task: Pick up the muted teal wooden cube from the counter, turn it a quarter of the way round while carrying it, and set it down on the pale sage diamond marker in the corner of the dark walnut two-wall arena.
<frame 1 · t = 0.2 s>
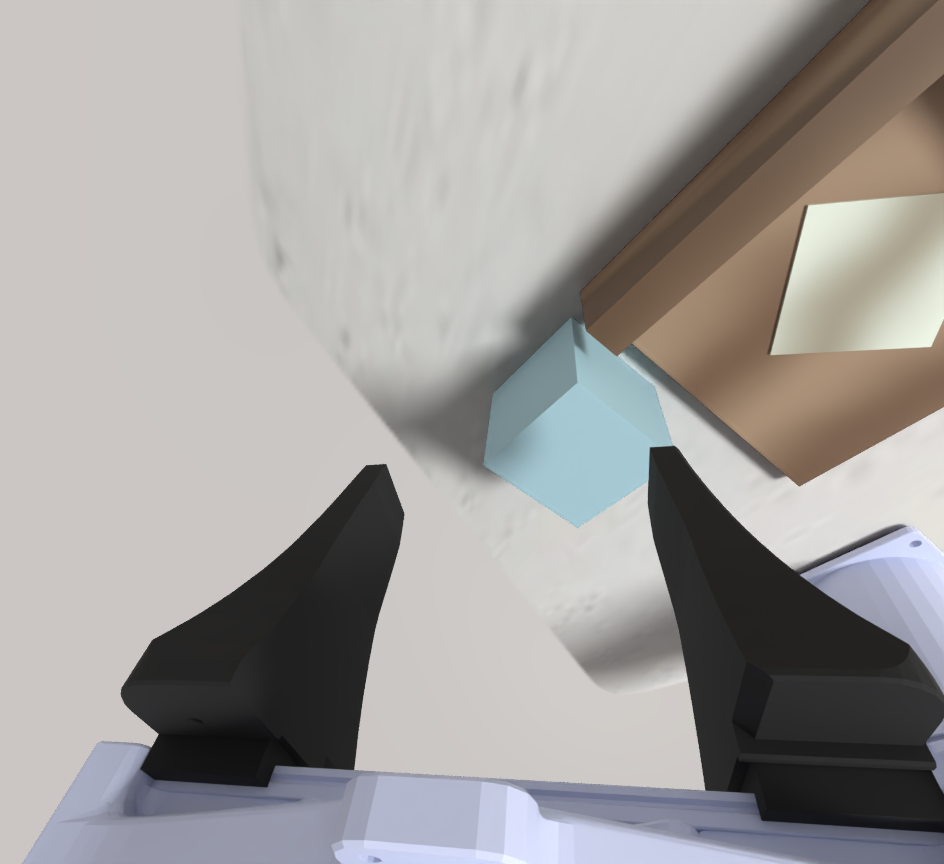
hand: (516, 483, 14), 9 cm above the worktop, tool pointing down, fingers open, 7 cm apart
cube: (571, 389, 23), on the worktop
arena: (861, 271, 19), on the worktop
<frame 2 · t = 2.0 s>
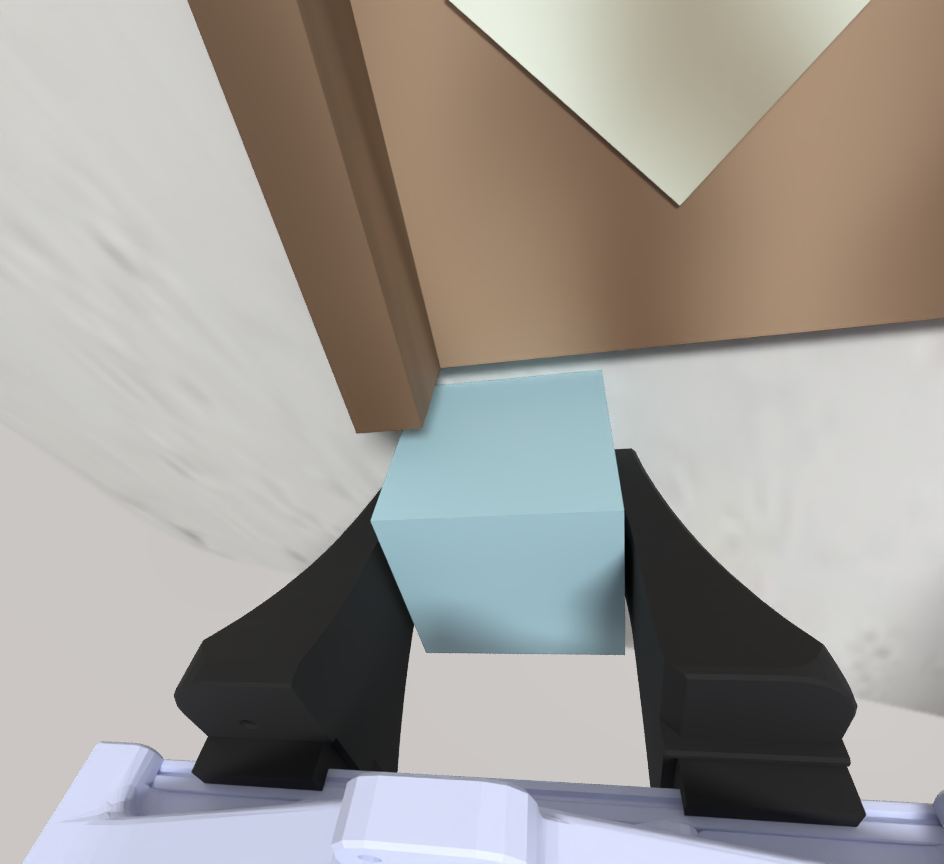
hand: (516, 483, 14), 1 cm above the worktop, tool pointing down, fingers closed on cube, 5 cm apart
cube: (517, 450, 16), on the worktop, touching gripper
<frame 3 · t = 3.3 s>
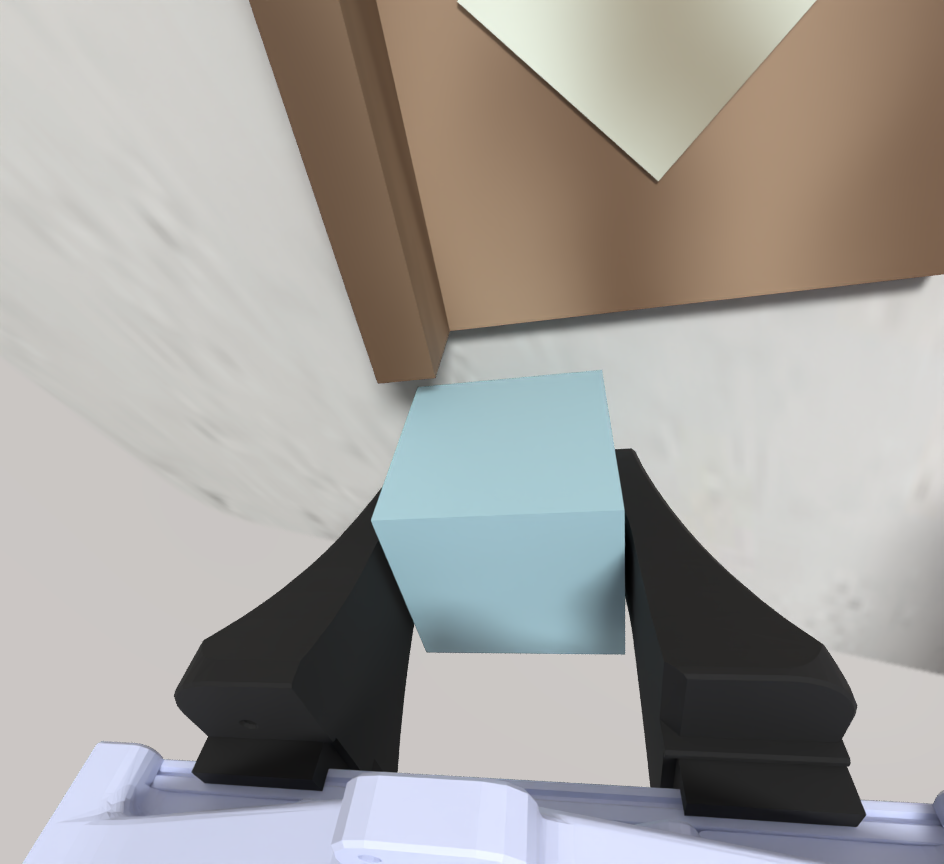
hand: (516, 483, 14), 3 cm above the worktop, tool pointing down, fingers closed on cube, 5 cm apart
cube: (518, 449, 16), point 2 cm above the worktop, touching gripper
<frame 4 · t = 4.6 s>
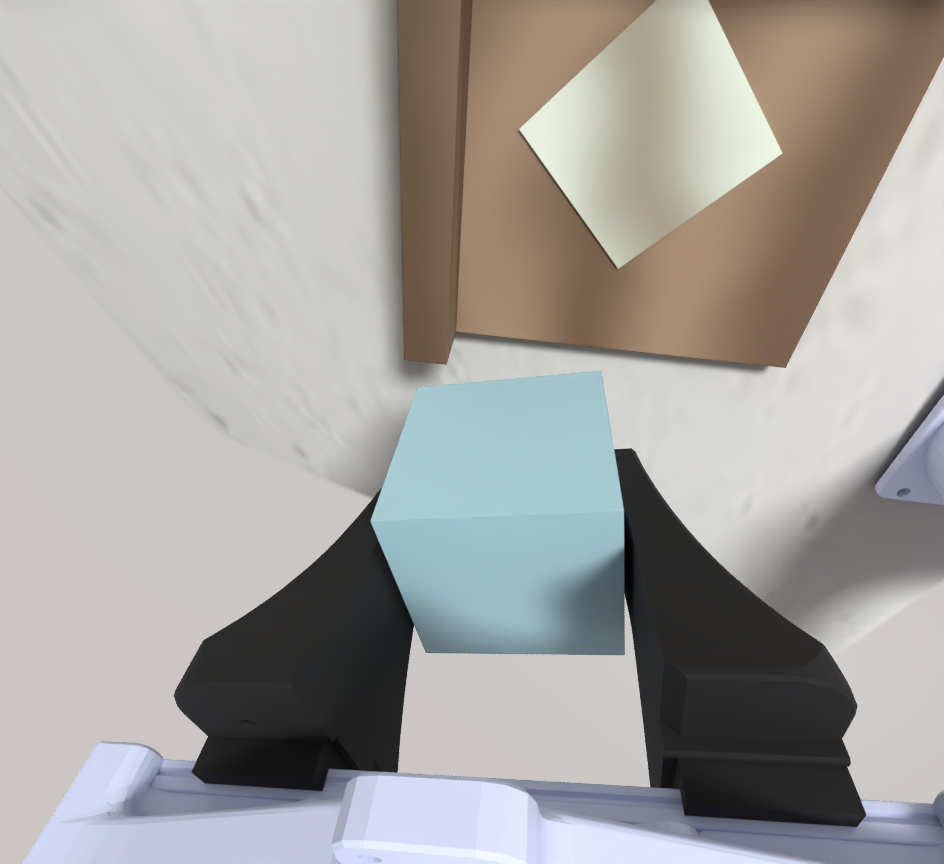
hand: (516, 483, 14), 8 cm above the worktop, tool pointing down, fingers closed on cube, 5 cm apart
cube: (517, 450, 16), point 7 cm above the worktop, touching gripper
arena: (644, 136, 16), on the worktop
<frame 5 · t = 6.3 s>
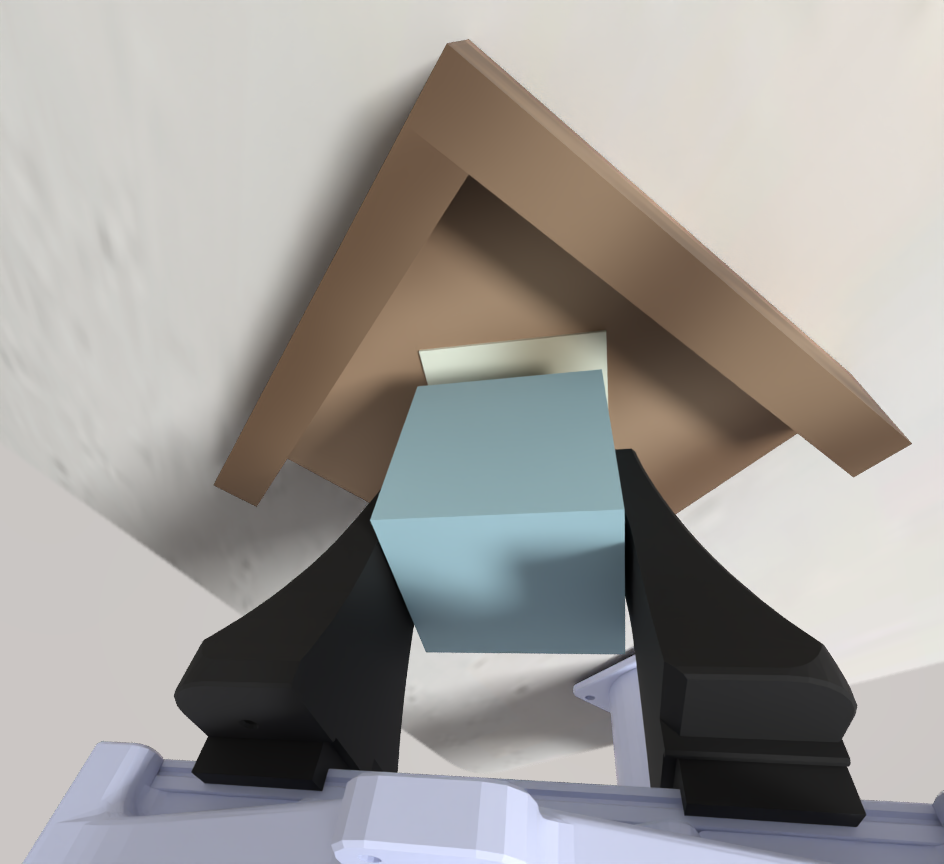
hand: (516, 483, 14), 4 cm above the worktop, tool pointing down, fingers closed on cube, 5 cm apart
cube: (517, 449, 16), point 3 cm above the worktop, touching gripper
arena: (521, 402, 18), on the worktop
when the fingers open (4 cm above the worktop, at t = 7.4 s): cube drops 1 cm, resting on arena.
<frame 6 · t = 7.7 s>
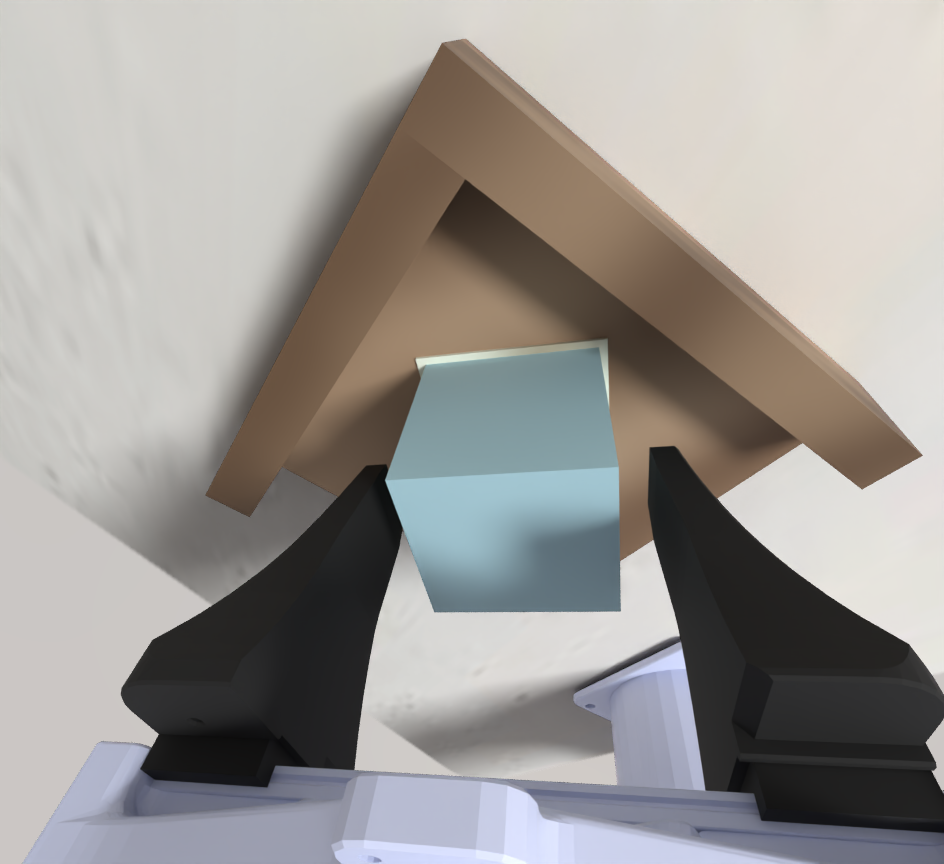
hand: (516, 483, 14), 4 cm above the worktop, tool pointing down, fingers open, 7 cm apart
cube: (520, 425, 16), point 1 cm above the worktop, touching arena
arena: (520, 409, 17), on the worktop
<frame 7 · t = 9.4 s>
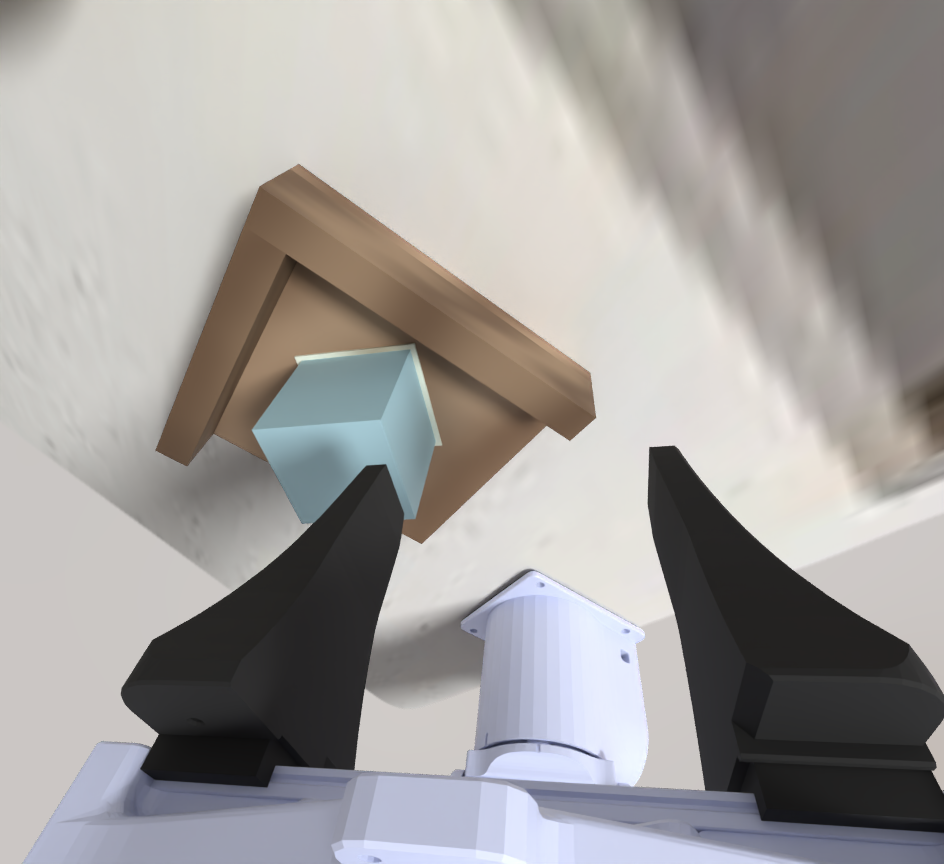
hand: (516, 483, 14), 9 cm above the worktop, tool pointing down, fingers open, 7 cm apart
cube: (371, 402, 24), point 1 cm above the worktop, touching arena
arena: (376, 392, 25), on the worktop
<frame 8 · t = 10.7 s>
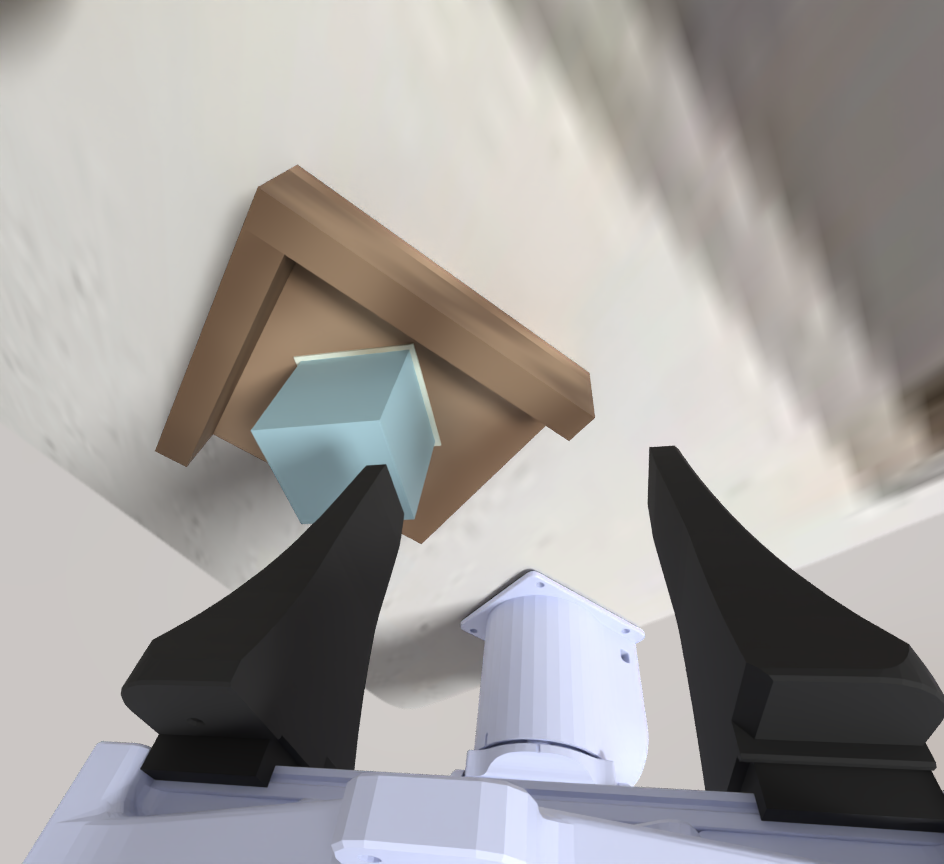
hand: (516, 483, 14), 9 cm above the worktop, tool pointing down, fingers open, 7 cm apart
cube: (370, 403, 24), point 1 cm above the worktop, touching arena
arena: (375, 392, 25), on the worktop
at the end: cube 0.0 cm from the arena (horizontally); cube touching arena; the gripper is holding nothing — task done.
